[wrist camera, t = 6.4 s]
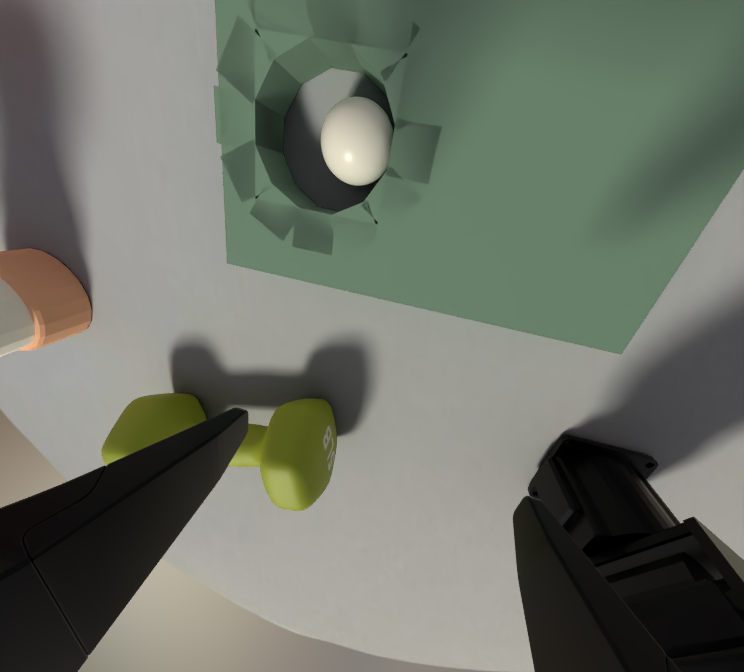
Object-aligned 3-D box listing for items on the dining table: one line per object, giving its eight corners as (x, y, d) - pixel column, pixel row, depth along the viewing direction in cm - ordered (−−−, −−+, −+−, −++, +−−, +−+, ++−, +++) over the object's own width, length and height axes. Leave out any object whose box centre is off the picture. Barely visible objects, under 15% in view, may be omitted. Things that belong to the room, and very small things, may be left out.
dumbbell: (336, 378, 23) (300, 448, 16) (347, 454, 26) (320, 537, 19) (160, 372, 26) (71, 429, 19) (189, 440, 29) (122, 508, 23)
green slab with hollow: (773, 18, 11) (880, -39, 9) (591, 331, 18) (621, 354, 15) (248, -54, 13) (203, -120, 10) (251, 254, 19) (223, 262, 17)
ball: (321, 96, 14) (389, 115, 15) (314, 177, 16) (376, 190, 17) (329, 74, 11) (413, 101, 12) (320, 178, 13) (395, 193, 14)
